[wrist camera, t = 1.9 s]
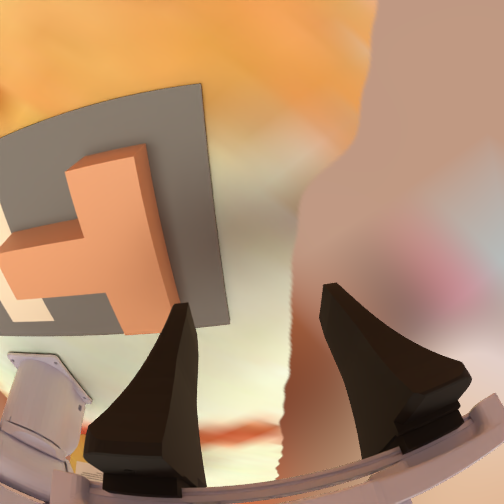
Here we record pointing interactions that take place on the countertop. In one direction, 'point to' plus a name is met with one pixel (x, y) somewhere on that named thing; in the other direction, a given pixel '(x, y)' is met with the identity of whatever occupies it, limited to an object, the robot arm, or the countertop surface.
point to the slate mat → (166, 193)
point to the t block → (101, 244)
